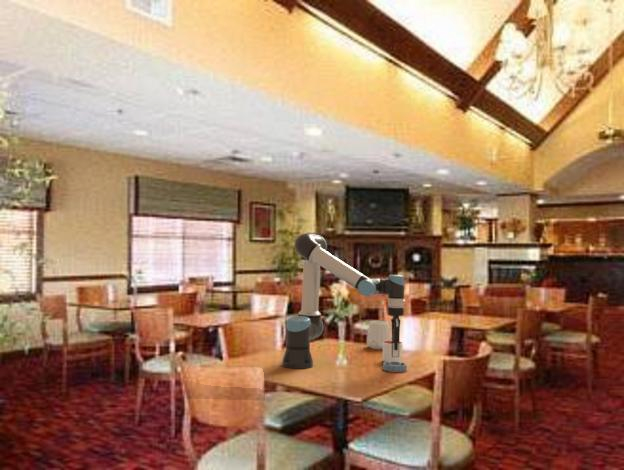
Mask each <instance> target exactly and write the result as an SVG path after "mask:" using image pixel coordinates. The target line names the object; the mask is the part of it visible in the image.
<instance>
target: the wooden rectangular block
mask: <svg viewBox="0 0 624 470" xmlns="http://www.w3.org/2000/svg"><path fill="white" fill-rule="evenodd" d="M391 338H392V339H391V341H392V342H393V333H392V332H391ZM392 357H393V343H392ZM398 357H399V354H398Z"/></svg>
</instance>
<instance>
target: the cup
mask: <svg viewBox="0 0 624 470" xmlns="http://www.w3.org/2000/svg"><path fill="white" fill-rule="evenodd" d="M381 359H382V362H383V363H384V362H389V361H390V362H402V361H403V342H401V341H399V357H392V340H391V341H384V342H383V349H382V357H381Z"/></svg>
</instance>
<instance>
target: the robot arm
mask: <svg viewBox="0 0 624 470" xmlns="http://www.w3.org/2000/svg"><path fill="white" fill-rule="evenodd" d="M327 249H328V244H327V241H326V239H325V238H324V237H323V236H322V235H320V234H318V233H316V234H315V233H302V234H300V235H298V236H297V237H296V238H295V240H294V250H295V252H296V253H297V254H298V255H299V256H300V262H302V264H303V266H302V267H303V268H302V270H303V271H302V287H301V288H302V289H301V292H302V294H301V295H302V296H301V310H300V311H298V315H296V316H291V317H288V318H287V320H286V325H285V329H286V330H285V337H286V338H285V352H284V355H283V357H282V359H281V360H282V361H281V365H282V367H284V368H288V369H309V368H312V367H314V360H313V357H312V354H311V350H310V349H311V341H312V340H313V341H314V340H315V339H317V338H318V337H320V336H321V335H322V334H323V331H324V323H323V320H322V313H321V312H320V311H319V304H320V303H319V301H320V299H319V297H320V278H321V277H320V276H321V268H323V269H325V270H326V271H327V272H329V273H331V274H332V275H334V276H336V277H337V278H338V279H340V280H342V281H344V282H345V283H347V284H348V285H349V286H350V287H353V288H355V289H356V290H357V291H358V293H359V294H360V295H362V296H363V297H371V296H373V295H387V296H388V297H387V306H388V308H387V315H389V316H391V317H392V318H391V319H390V322H391V334H392V333H393V342H392V343H393V357H398V354H399V342H400V330H401V319H400V317H403V316H404V315H405V308H404V306H405V304H404V303H406V300H405V277H404V275H402V274H389V275H388V278H378V277H377V278H375V277H368V276H366V275H365V274H363V273H362V272H360V271H359V270H357V269H355V268H353V267H352V266H350V265H349V264H347V263H345V261H343V260H341V259H339V258H338V257H337V256H334V255H332V254H331V253H330V252H329V251H327ZM391 340H392V337H391Z"/></svg>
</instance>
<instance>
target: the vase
mask: <svg viewBox="0 0 624 470" xmlns="http://www.w3.org/2000/svg"><path fill="white" fill-rule="evenodd" d="M391 338H392V335H391V330H390V324H389V322H388V321H386V320H385V321H384V320H371V321H370V322H369V324H368V330H367V336H366V345H367V347H369V348H370V349H372V350H383V342H384V341H392V339H391Z"/></svg>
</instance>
